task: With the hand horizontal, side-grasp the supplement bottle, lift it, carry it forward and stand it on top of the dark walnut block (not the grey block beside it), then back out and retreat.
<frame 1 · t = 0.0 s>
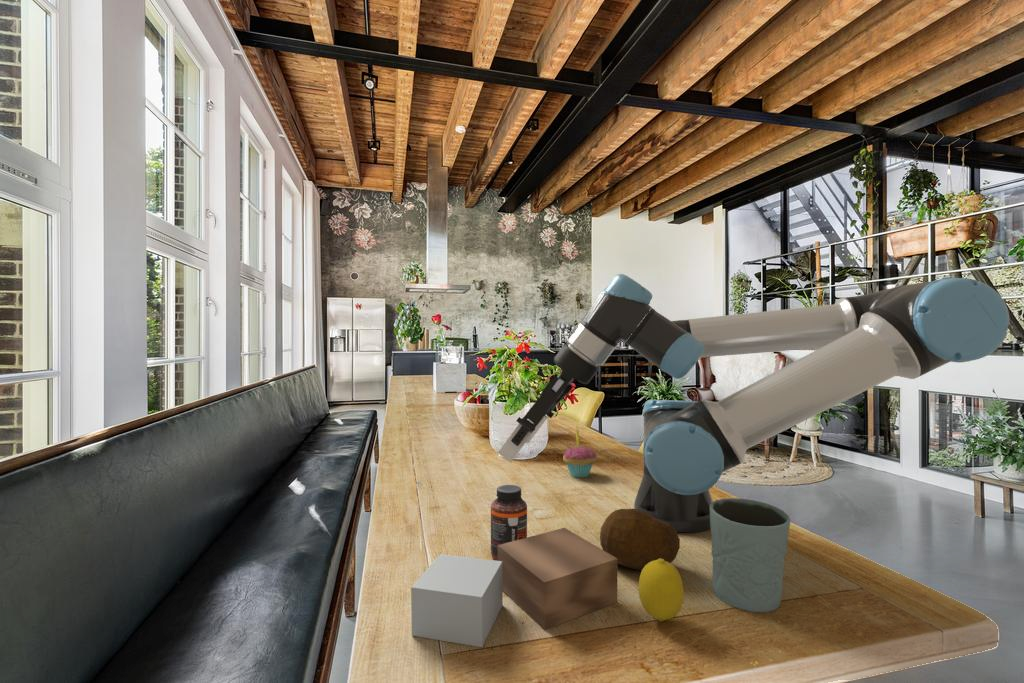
hand: (514, 447, 91), 15 cm above the table, tool tilted 35°, fingers open, 13 cm apart
lemon: (660, 622, 63), on the table
grey green planter pot: (747, 597, 69), on the table
walnut block: (555, 593, 69), on the table
cupcake: (580, 475, 124), on the table
potato: (636, 567, 77), on the table
grey block: (459, 619, 63), on the table
supplement bottle: (509, 558, 81), on the table
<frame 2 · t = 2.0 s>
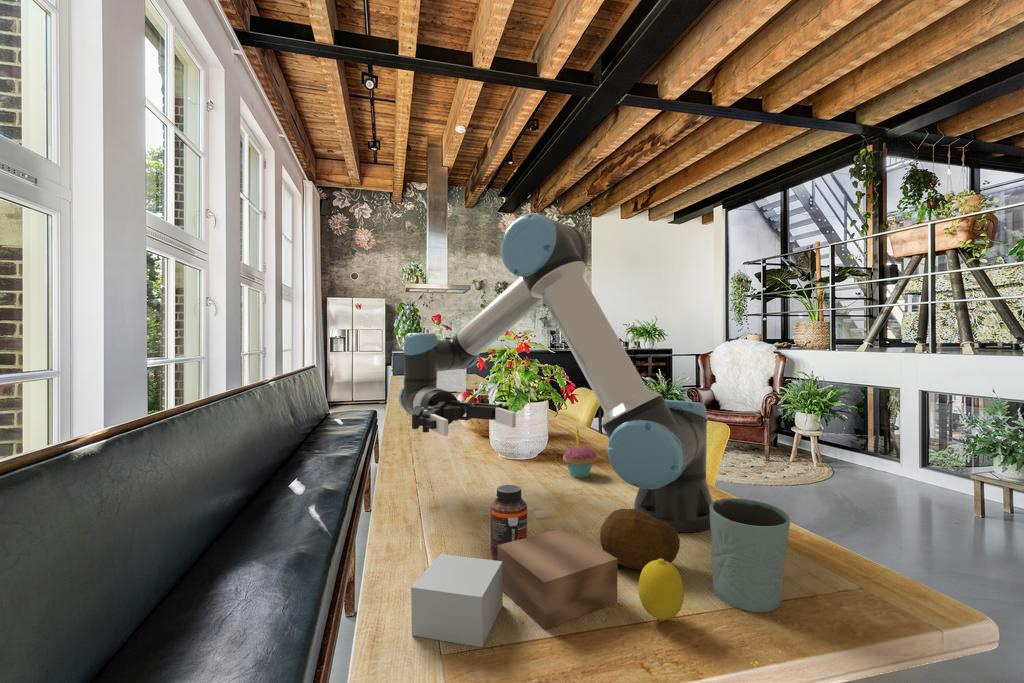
hand: (481, 424, 88), 20 cm above the table, tool horizontal, fingers open, 13 cm apart
nothing on the table moved.
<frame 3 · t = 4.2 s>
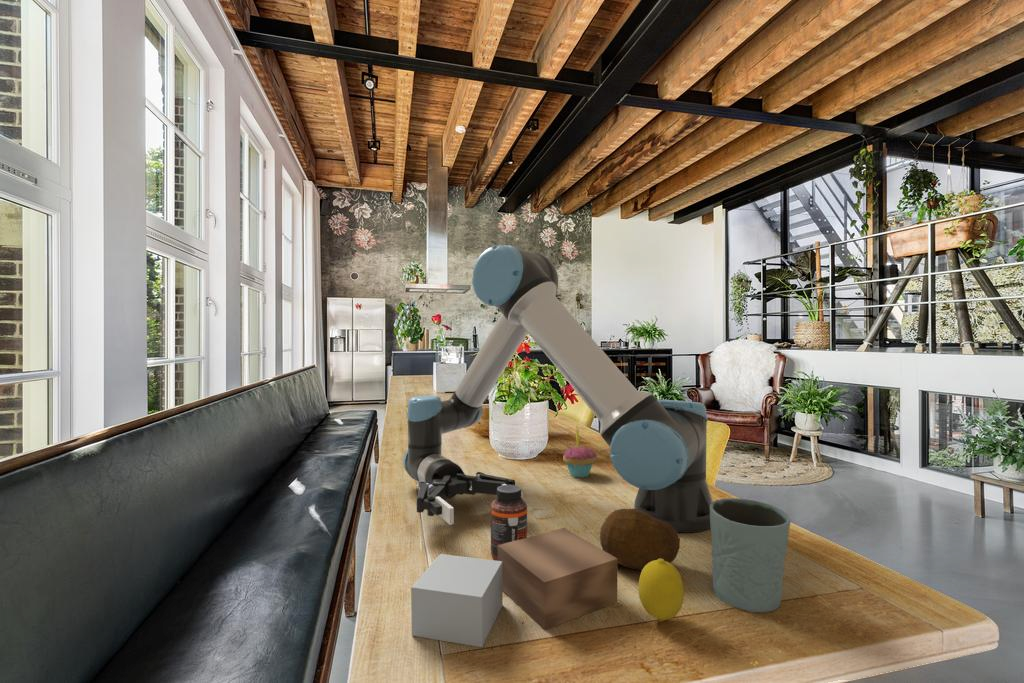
hand: (487, 508, 86), 6 cm above the table, tool horizontal, fingers open, 13 cm apart
nothing on the table moved.
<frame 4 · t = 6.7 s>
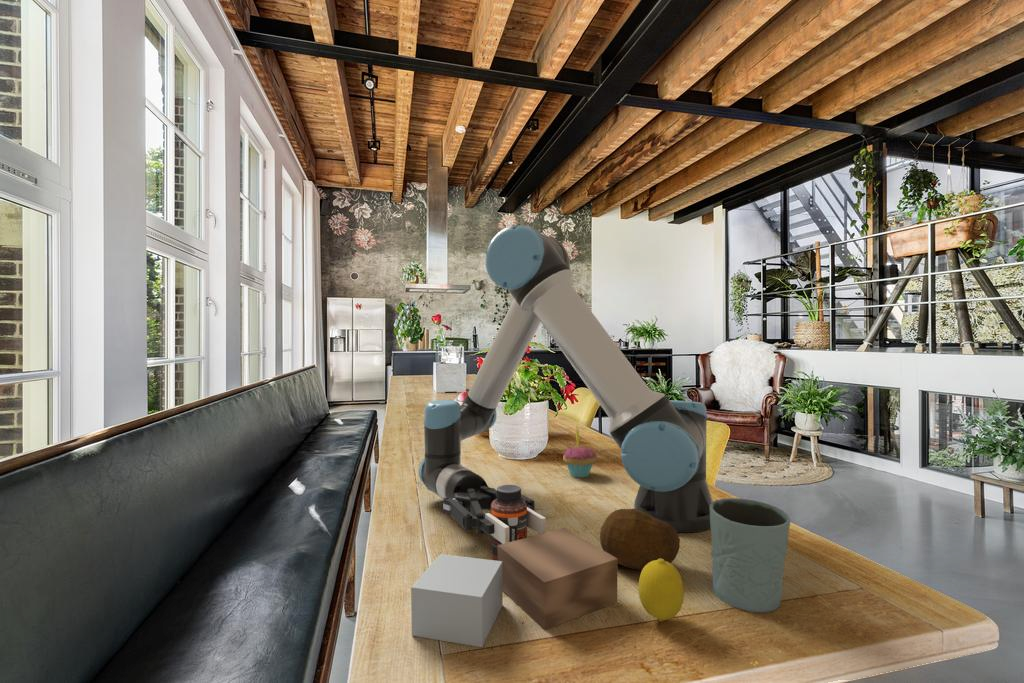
hand: (525, 531, 76), 6 cm above the table, tool horizontal, fingers closed on supplement bottle, 6 cm apart
supplement bottle: (509, 557, 81), on the table, touching gripper
everything else where it was.
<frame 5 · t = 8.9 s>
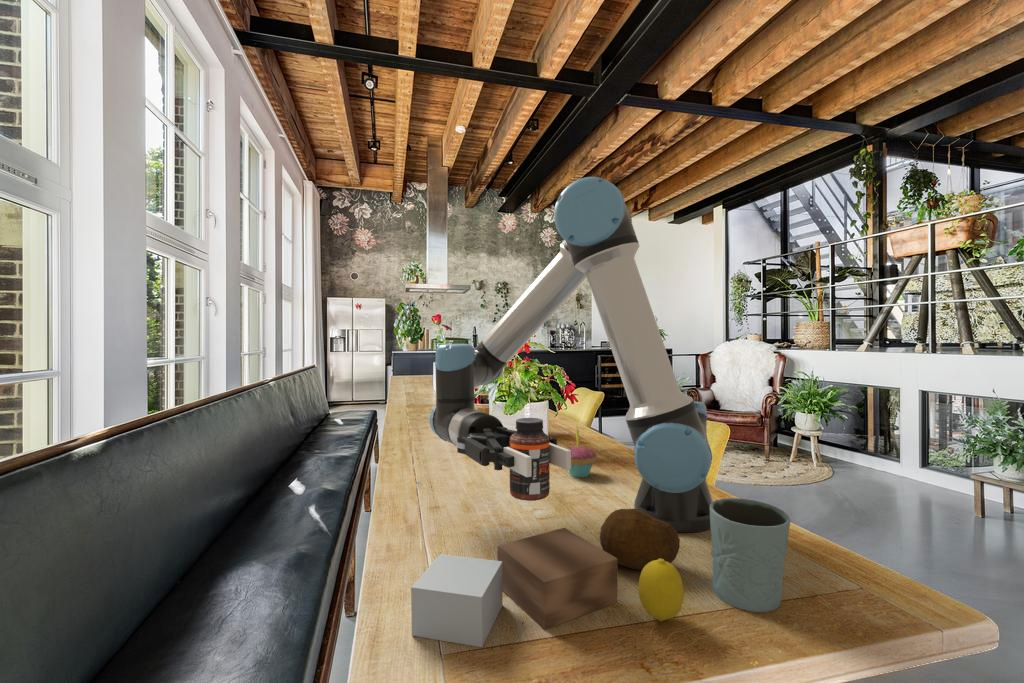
hand: (549, 463, 69), 19 cm above the table, tool horizontal, fingers closed on supplement bottle, 6 cm apart
supplement bottle: (529, 496, 73), point 12 cm above the table, touching gripper
everything else where it was.
when the fingers open (13 cm above the table, at t = 11.0 s): supplement bottle drops 1 cm, resting on walnut block.
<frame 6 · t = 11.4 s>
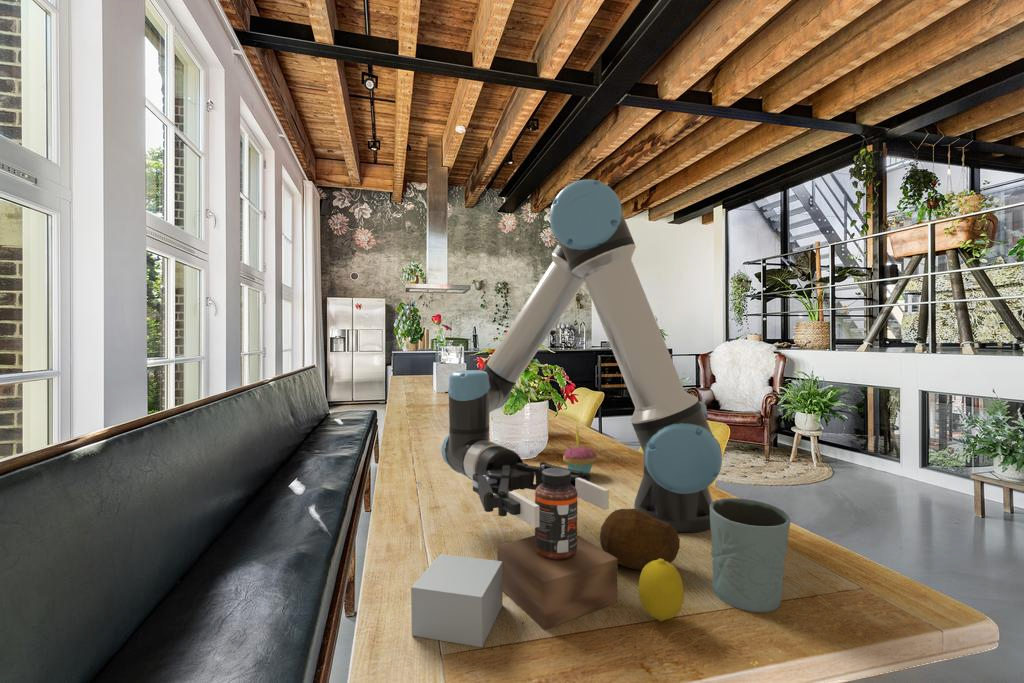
hand: (573, 508, 65), 13 cm above the table, tool horizontal, fingers open, 11 cm apart
supplement bottle: (556, 552, 69), point 6 cm above the table, touching walnut block
everything else where it was.
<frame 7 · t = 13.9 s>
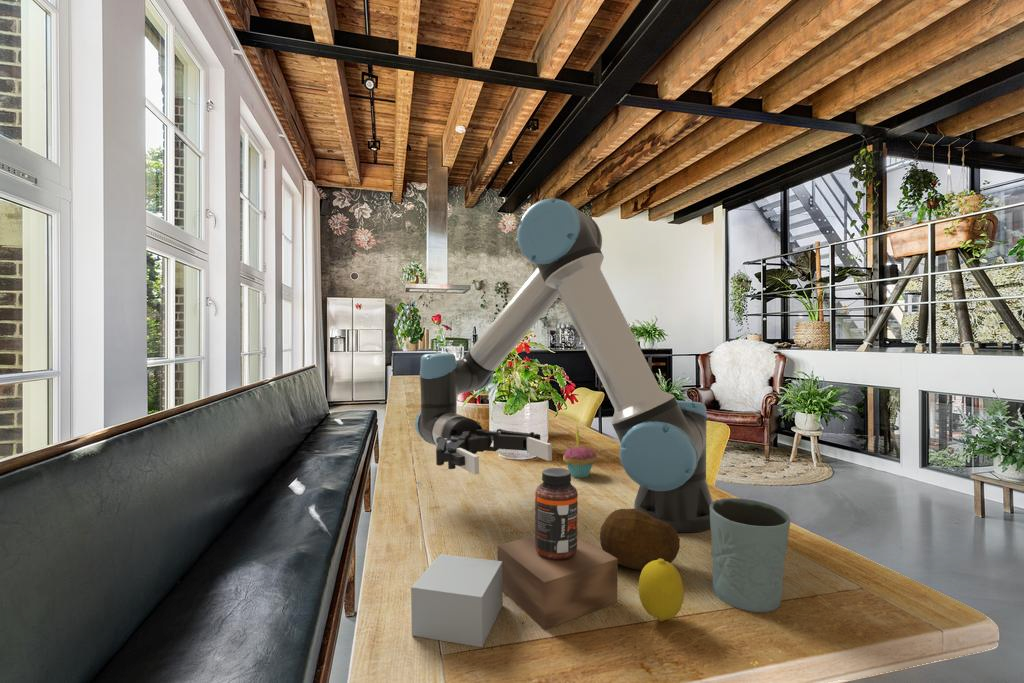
hand: (515, 458, 78), 17 cm above the table, tool horizontal, fingers open, 13 cm apart
nothing on the table moved.
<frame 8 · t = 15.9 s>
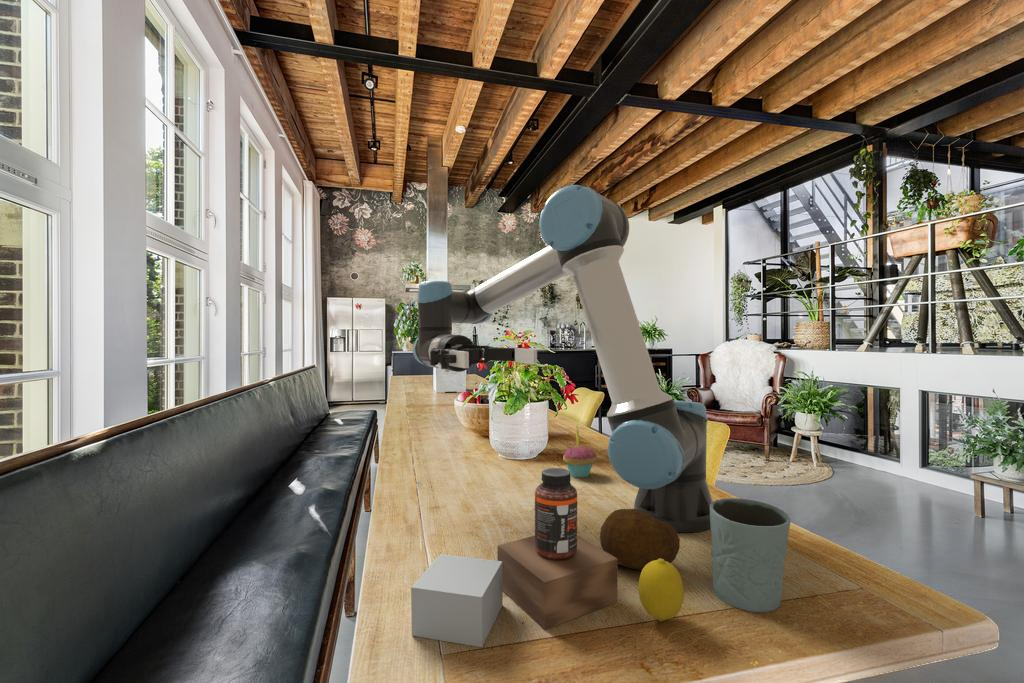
hand: (502, 358, 85), 32 cm above the table, tool horizontal, fingers open, 13 cm apart
nothing on the table moved.
at the end: supplement bottle inside the target area on the walnut block (0.1 cm from its centre), point 5.8 cm above the walnut block's base; supplement bottle tilted 0°; supplement bottle touching walnut block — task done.
